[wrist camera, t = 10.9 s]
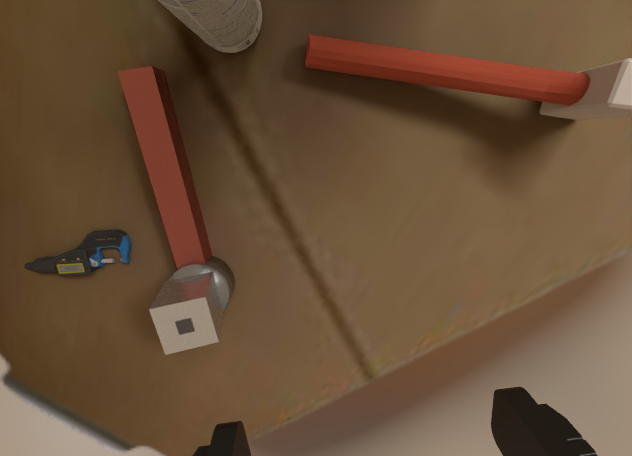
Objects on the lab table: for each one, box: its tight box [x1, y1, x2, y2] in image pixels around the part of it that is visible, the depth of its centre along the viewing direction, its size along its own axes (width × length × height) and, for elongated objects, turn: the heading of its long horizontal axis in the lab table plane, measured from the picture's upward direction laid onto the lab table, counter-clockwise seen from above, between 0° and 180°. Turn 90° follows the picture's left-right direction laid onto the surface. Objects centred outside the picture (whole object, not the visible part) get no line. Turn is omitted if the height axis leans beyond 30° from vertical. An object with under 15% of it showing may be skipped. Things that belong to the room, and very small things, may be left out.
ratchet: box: [118, 66, 235, 310], centre depth 33 cm, size 27×7×6 cm, turn 8°
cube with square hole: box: [149, 271, 224, 355], centre depth 32 cm, size 5×5×6 cm
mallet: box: [305, 34, 632, 120], centre depth 30 cm, size 11×4×30 cm
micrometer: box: [25, 230, 131, 276], centre depth 37 cm, size 12×2×5 cm
